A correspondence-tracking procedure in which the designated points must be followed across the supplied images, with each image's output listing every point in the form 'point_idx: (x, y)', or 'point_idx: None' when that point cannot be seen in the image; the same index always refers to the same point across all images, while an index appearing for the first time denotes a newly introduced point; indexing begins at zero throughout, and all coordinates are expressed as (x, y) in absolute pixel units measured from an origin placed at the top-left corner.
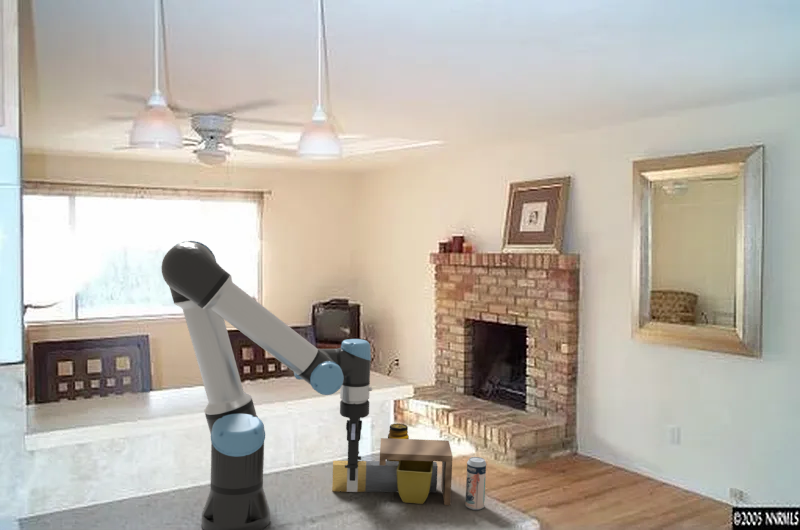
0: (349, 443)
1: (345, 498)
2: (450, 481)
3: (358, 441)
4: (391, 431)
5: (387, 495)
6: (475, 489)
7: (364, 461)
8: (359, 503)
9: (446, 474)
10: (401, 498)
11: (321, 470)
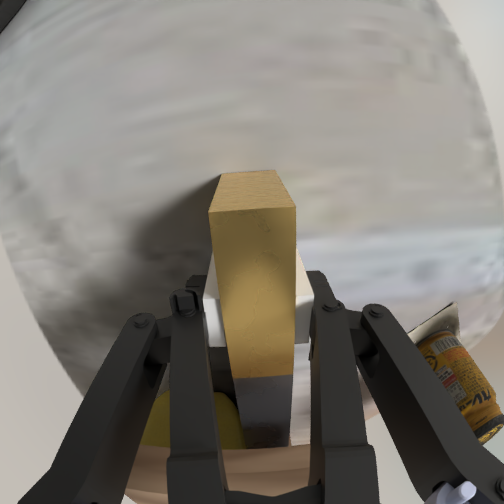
0: (64, 457)
1: (159, 236)
2: None
3: (311, 446)
4: (477, 422)
5: (216, 357)
6: None
7: (286, 369)
8: (130, 286)
9: None
10: (162, 394)
11: (443, 121)
